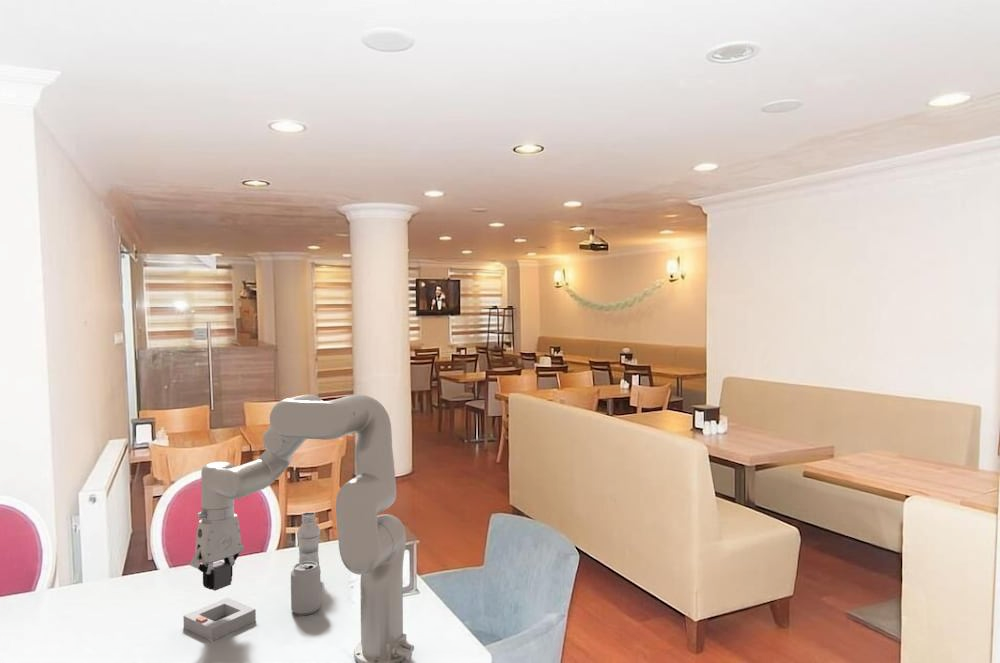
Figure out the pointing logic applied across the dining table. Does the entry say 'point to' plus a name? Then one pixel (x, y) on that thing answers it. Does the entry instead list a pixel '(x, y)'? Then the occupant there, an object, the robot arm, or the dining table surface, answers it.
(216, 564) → the plug
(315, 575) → the can
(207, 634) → the socket plate
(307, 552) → the plastic bottle
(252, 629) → the dining table surface
